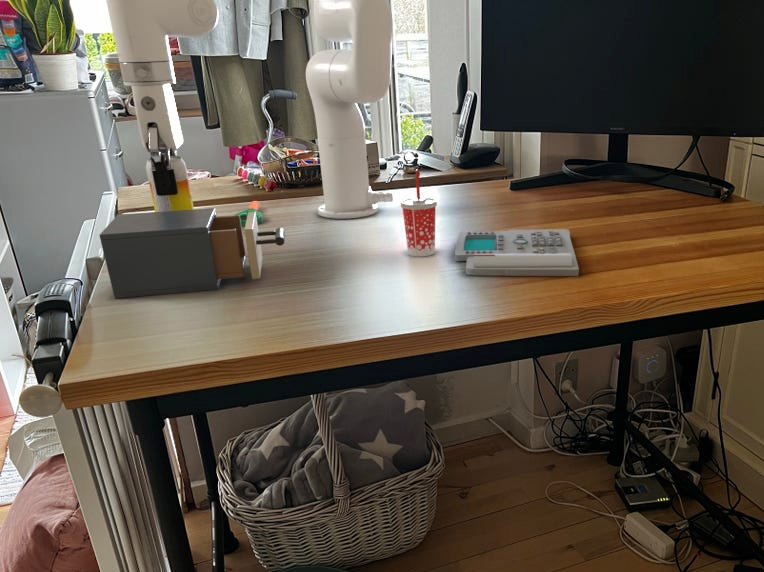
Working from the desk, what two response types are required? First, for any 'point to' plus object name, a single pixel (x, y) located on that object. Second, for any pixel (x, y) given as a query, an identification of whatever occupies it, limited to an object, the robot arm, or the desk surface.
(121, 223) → the cabinet
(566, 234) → the office telephone
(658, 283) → the desk surface
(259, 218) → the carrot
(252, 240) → the drawer
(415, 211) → the beverage cup
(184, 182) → the beer can
